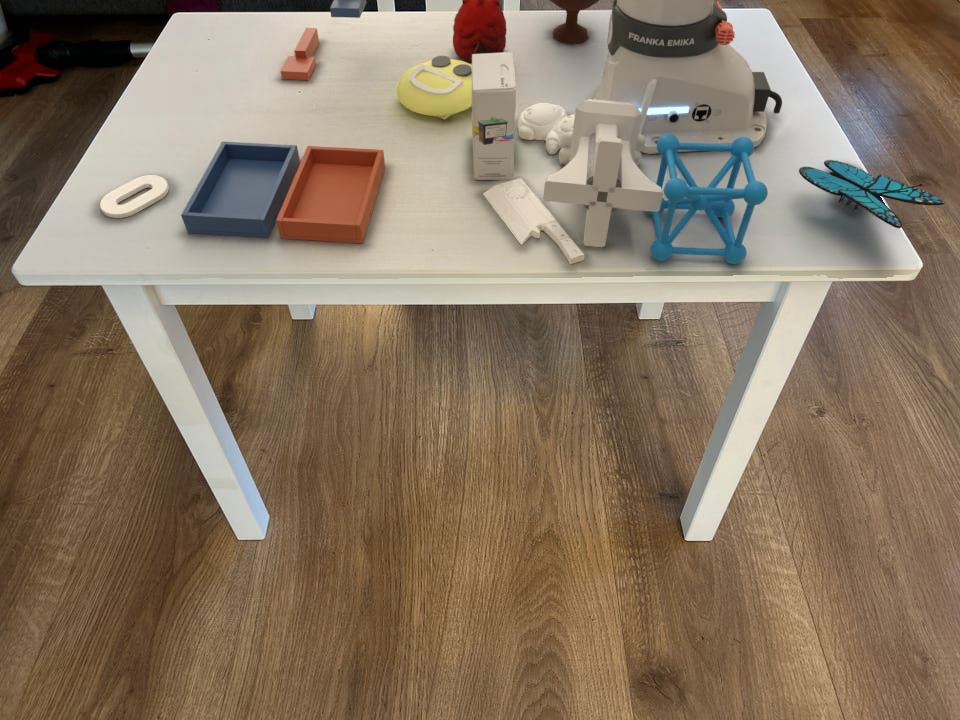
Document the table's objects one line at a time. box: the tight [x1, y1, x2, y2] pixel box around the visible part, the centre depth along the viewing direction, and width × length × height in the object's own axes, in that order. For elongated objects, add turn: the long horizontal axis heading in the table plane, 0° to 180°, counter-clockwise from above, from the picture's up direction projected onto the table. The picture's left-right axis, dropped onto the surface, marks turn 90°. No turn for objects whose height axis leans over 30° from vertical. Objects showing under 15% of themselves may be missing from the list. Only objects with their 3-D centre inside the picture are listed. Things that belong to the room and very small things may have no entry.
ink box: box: [471, 51, 517, 181], centre depth 88 cm, size 8×5×12 cm, turn 1°
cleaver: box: [482, 177, 585, 265], centre depth 84 cm, size 5×15×1 cm, turn 24°
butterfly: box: [798, 159, 946, 229], centre depth 84 cm, size 19×13×5 cm
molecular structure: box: [645, 134, 769, 265], centre depth 79 cm, size 10×10×10 cm
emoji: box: [395, 55, 472, 121], centre depth 100 cm, size 4×12×12 cm
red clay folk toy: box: [452, 0, 507, 65], centre depth 104 cm, size 8×7×15 cm
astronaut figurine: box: [517, 102, 575, 155], centre depth 95 cm, size 9×12×3 cm
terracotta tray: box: [275, 145, 386, 244], centre depth 87 cm, size 9×14×2 cm, turn 175°
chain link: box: [99, 174, 170, 219], centre depth 88 cm, size 8×1×5 cm
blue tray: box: [180, 141, 301, 239], centre depth 87 cm, size 9×14×2 cm, turn 175°
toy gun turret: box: [542, 60, 664, 248], centre depth 83 cm, size 12×13×18 cm
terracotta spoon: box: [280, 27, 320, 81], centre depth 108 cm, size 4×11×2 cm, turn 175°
